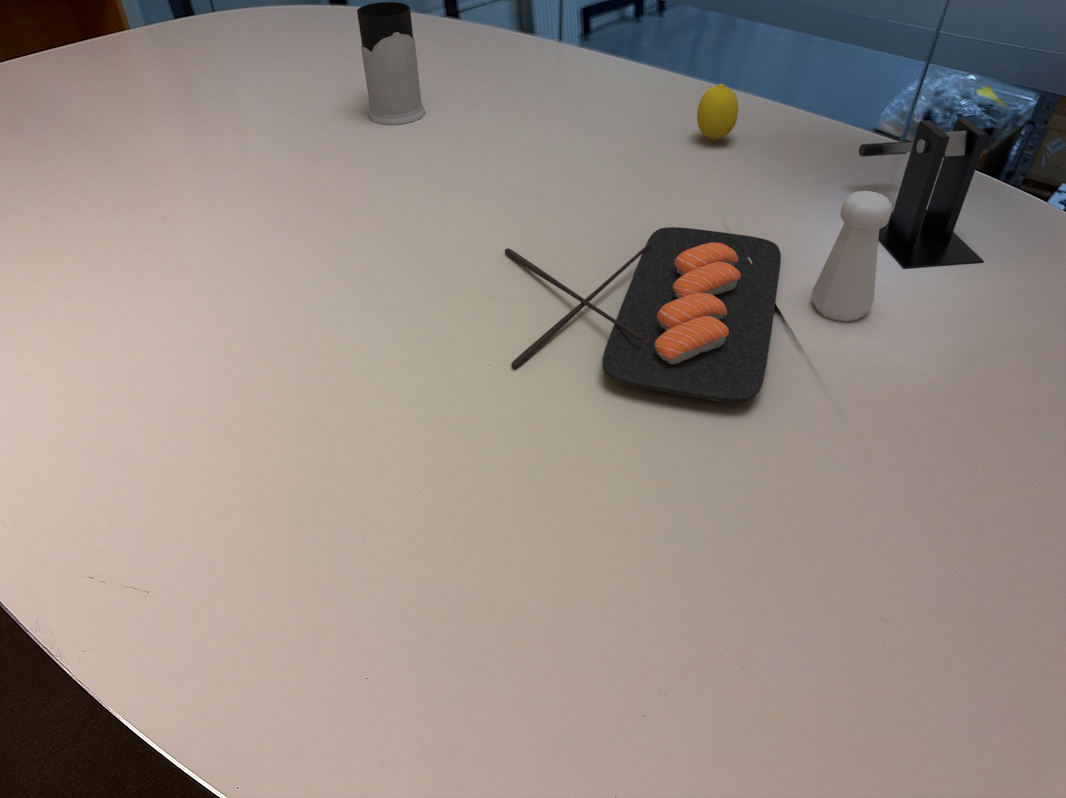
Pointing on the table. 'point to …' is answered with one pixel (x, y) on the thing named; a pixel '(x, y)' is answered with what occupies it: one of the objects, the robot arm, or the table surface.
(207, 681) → the table surface
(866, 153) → the lever
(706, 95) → the lemon
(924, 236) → the bracket
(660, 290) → the sushi plate
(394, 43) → the glass holder
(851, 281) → the salt shaker
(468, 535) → the table surface
